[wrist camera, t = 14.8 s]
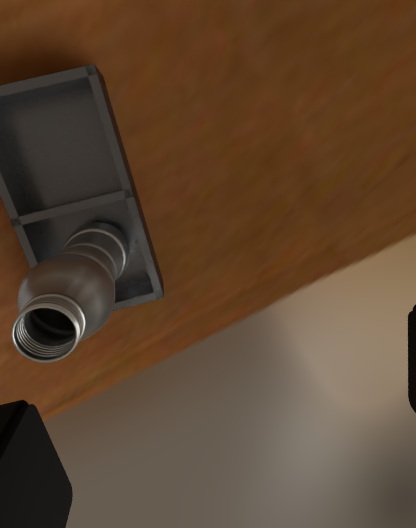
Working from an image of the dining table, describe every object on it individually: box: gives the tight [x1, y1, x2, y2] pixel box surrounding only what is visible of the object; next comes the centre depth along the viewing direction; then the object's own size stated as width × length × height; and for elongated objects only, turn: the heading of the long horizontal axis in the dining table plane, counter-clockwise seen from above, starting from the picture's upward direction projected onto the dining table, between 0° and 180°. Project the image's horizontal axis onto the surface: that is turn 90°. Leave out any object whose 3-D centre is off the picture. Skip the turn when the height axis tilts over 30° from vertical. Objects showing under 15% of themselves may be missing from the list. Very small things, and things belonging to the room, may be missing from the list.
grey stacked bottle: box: [11, 223, 130, 363], centre depth 29 cm, size 6×7×20 cm
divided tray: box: [0, 64, 164, 311], centre depth 36 cm, size 22×12×5 cm, turn 13°
